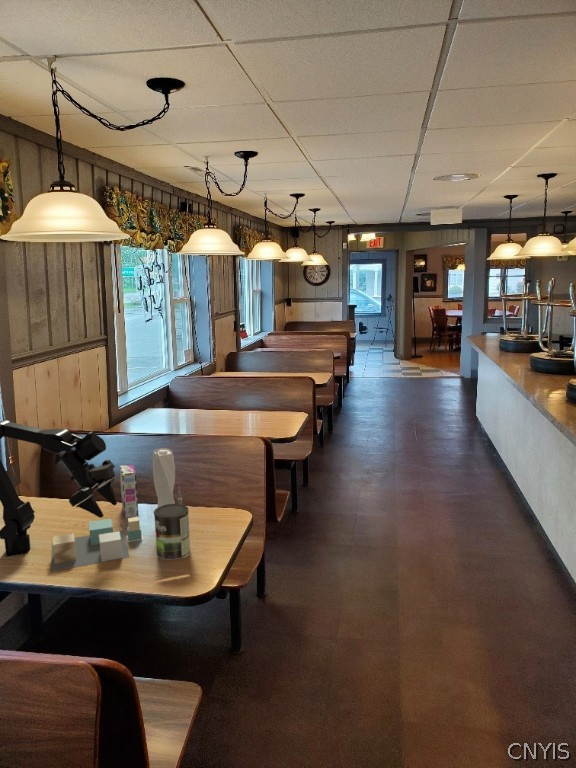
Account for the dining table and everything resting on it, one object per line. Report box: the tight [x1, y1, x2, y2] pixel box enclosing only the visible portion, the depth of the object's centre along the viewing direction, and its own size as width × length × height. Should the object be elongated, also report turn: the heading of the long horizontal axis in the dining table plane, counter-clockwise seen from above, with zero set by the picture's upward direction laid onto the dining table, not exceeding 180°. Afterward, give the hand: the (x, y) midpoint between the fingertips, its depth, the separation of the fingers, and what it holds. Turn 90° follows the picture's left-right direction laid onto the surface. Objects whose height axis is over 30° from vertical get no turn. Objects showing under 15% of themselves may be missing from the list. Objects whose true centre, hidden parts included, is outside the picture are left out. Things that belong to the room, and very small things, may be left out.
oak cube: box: [52, 532, 76, 564], centre depth 176 cm, size 6×6×6 cm
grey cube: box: [99, 530, 122, 562], centre depth 177 cm, size 6×6×6 cm
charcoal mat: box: [50, 529, 130, 572], centre depth 182 cm, size 22×21×1 cm
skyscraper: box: [152, 447, 183, 508], centre depth 198 cm, size 8×8×28 cm
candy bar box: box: [119, 464, 139, 519], centre depth 210 cm, size 11×5×16 cm, turn 21°
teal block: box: [88, 518, 114, 545], centre depth 188 cm, size 7×7×5 cm
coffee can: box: [153, 503, 191, 561], centre depth 178 cm, size 10×10×14 cm
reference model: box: [125, 516, 144, 543], centre depth 189 cm, size 5×5×7 cm
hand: (109, 510), depth 175 cm, fingers open, 9 cm apart
